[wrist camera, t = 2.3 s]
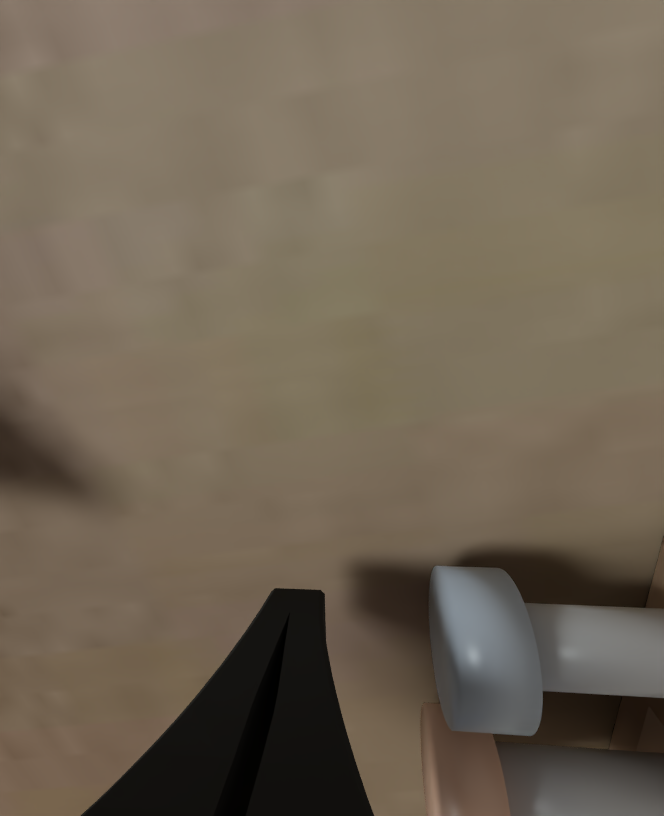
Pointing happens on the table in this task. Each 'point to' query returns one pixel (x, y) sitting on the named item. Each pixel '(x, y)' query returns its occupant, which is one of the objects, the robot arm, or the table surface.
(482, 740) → the knob clay
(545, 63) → the table surface
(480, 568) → the knob slate
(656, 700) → the mount
